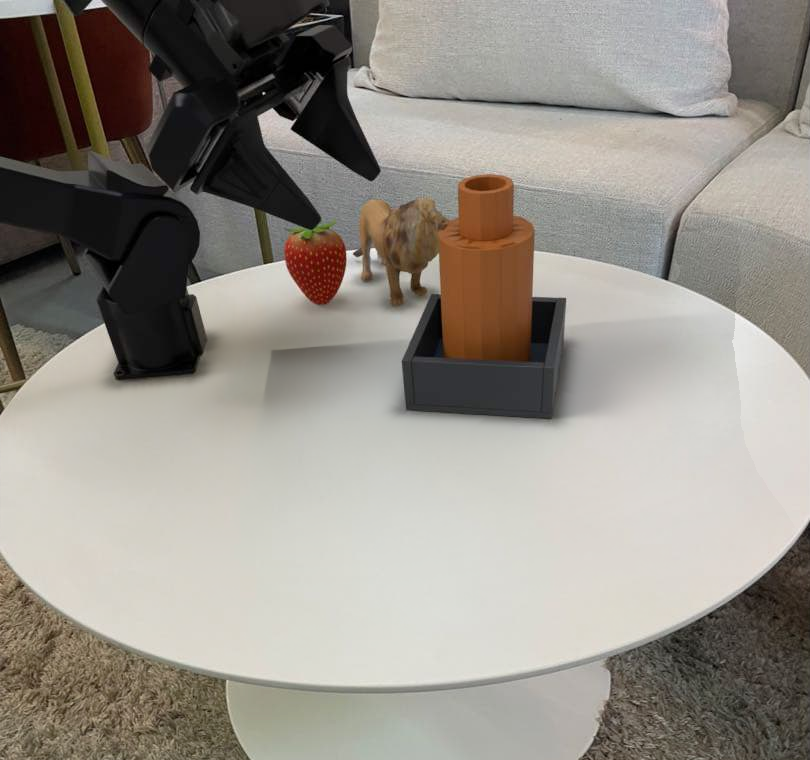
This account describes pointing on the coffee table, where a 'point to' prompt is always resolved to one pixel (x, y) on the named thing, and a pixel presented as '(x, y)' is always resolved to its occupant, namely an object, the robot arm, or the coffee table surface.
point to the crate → (485, 369)
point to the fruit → (316, 261)
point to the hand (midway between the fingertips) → (348, 199)
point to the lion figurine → (400, 241)
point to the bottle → (486, 274)
